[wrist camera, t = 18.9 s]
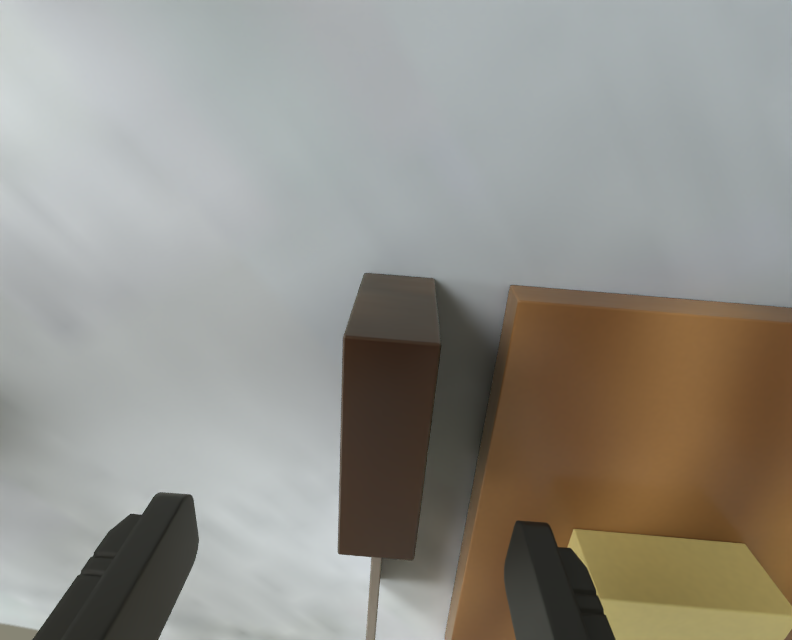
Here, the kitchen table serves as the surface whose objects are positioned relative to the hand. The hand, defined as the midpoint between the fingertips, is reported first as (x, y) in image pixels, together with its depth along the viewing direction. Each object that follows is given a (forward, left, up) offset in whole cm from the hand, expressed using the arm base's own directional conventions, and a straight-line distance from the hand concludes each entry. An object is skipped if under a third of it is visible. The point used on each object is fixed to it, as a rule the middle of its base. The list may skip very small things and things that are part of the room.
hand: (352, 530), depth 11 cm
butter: (+12, -8, -6) cm, 15 cm away
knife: (+1, -4, -7) cm, 8 cm away
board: (+13, -6, -7) cm, 16 cm away
